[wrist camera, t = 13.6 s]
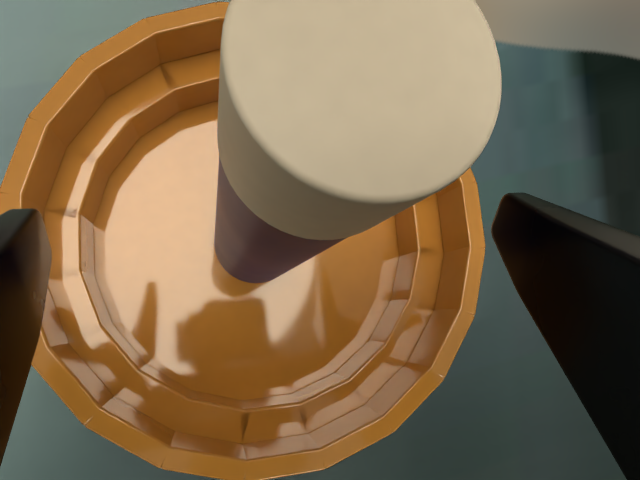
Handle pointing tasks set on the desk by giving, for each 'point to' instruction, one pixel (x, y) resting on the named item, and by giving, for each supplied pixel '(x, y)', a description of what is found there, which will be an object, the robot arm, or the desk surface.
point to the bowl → (221, 278)
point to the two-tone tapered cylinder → (342, 119)
